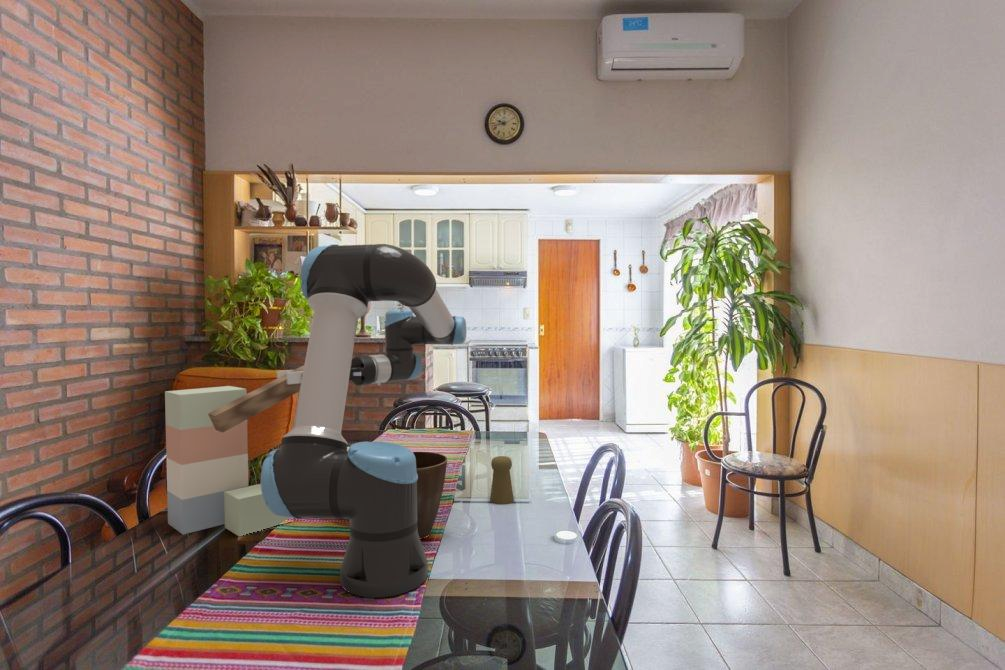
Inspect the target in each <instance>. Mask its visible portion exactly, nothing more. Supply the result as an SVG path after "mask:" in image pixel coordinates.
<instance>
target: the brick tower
mask: <svg viewBox="0 0 1005 670" xmlns="http://www.w3.org/2000/svg"><path fill="white" fill-rule="evenodd" d="M247 392H248V391H247V388H243V387H239V386H238V387H237V386H234V385H233V386H232V385H225V386H213V387H200V388H187V389H177V390H168V391H167V390H166V391H164V402H165V406H164V408H165V449H166V451H165V452H166V453H165V455H166V491H167V492H166V493H167V495H166V496H167V498H166V499H167V524H168V525H169V526H170V527H172V528H173V529H175V530H176V531H177V532H179V533H180V534H182V535H187V534H190V533H195V532H198V531H203V530H206V529H210V528H215V527H218V526H222V525H225V511H224V492H225V491H230V490H234V489H239V488H244V487H248V486H249V482H248V468H249V449H248V447H249V445H248V436H249V435H248V419H247V420H245V421H243V422H242V423H240V424H238V425H236V426H234V427H232V428H230V429H229V430H227V431H225V432H220V431H217V430H216V429H215V427H214V425H213V423H212V421H211V419H210V417H209V415H208V413H210V412H212V411H214V410H216V409H218V408H220V407H222V406H224V405H226V404H228V403H230V402H232V401H234V400H236V399H238V398H240V397H242V396H244V395H246V394H248V393H247Z"/></svg>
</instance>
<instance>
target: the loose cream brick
mask: <svg viewBox="0 0 1005 670" xmlns="http://www.w3.org/2000/svg"><path fill="white" fill-rule="evenodd" d="M224 511H225V524H224V528H225V529H227V530H228V531H229V532H230V533H231V532H232V533H233V534H234V535H235V536H238V537H240V536H241V537H243V535H244V536H247V535H246V534H248V535H250V534H249V533H252V534H254V533H253V532H255V533H258V532H257V531H259V532H262V531H264V530H263V529H266V528H270V527H273V526H276V525H278V524H280V523H282V522H283V521H285V520H288V519H291V518H293V517H284V516H278V515H275V514H274V513H272V512H271V511H270V510H269V509H268V507H267V506H266V504H265V501H264V499H263V496H262V491H261V483H257V484H253V485H248V487H244V488H239V489H234V490H230V491H225V492H224ZM273 528H274V527H273ZM270 529H271V528H270ZM261 530H262V531H261ZM266 530H267V529H266Z"/></svg>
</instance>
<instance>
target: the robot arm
mask: <svg viewBox="0 0 1005 670" xmlns="http://www.w3.org/2000/svg"><path fill="white" fill-rule="evenodd" d="M299 279H300V281H301V283H300V289H301V293H302V295H303V297H304V298H305V299H306V300H307V304H308V306H309V308H310V310H312V311H313V315H312V321H311V326H310V327H311V328H310V333H309V338H308V344H307V348H306V353H305V354H306V355H305V361H304V364H303V365H304V370H303V371H298V372H291V371H293V370H294V369H286V370H277V371H276V379H278V378H280V377H282V376H284V375H286V380H287V384H298V383H301V386H300V391H299V392H298V399H297V404H296V410H295V415H294V421H293V424H292V425H293V427H292V429H291V430H290V431H288V432H287V433H286V434H284V435H283V436H282V437H281V442H280V447H279V448H276V449H274V450H271V451H269V453H267V455H266V458H265V459H264V461H263V463H262V466H261V472H260V484H261V491H262V496H263V499H264V501H265V504H266V506H267V507H268V509H269V510H270V511H271V512H272V513H274V514H275V515H278V516H284V517H293V518H294V519H297V520H298V519H299V520H300V519H330V520H331V519H332V520H333V519H334V520H338V519H340V520H349V540H348V543H347V546H346V549H345V553H344V556H343V559H342V563H341V565H340V570H339V578H340V579H339V581H340V582H341V584H340V586H341V585H342V586H343V587H344V588H345V589H346V590H347V591H349V592H350V593H353V594H355V595H354V596H356V595H358V596H357V597H361V596H362V598H371V599H372V598H373V599H374V598H375V599H376V598H378V599H379V598H388V597H394V596H399V595H402V594H405V593H408V592H411V591H413V590H416V589H417V588H419V587H420V586H422V585H423V584H424V582H426V580H428V576H429V562H428V558H427V555H426V552H425V548H424V546H423V543H422V539H421V540H420V537H419V534H418V530H417V480H418V474H417V470H416V458H415V455H414V453H413V452H414V451H412V449H410V448H407V447H406V446H404V445H401V444H397V443H394V442H389V441H387V442H386V441H379V440H378V441H377V440H373V441H359V442H355V443H352V444H351V445H350V446H349V448H348V445H349V443H348V442H347V440H346V439H345V438H344V437H343V434H342V428H343V423H344V415H345V407H346V402H347V395H348V389H349V381H352V383H353V384H354V385H356V386H367V385H372V384H373V385H375V384H376V386H381V384H382V383H383V384H384V383H393V382H403V381H404V382H407V381H410V380H415V379H417V378H419V377H420V376H421V374H422V372H423V367H424V366H423V365H424V364H423V362H422V358H421V356H420V355H419V354H418V353H416V352H414V345H451V346H453V345H462V344H464V343H465V342H466V338H467V321H466V319H465V317H464V316H457V315H452V313H451V312H450V311H449V309H448V307H447V305H446V303H445V302H444V300H443V298H442V297H441V295H440V293H439V291H438V290H437V280H436V277H435V275H434V273H433V272H432V270H431V269H430V268H429V266H427V264H426V263H425V262H424V261H422V259H420V258H419V257H418V256H416V255H414V254H413V253H411V252H409V251H408V250H405V249H404V248H401V247H398V246H395V245H392V244H386V243H375V244H372V243H371V244H345V245H339V244H328V245H321V246H317V247H314V248H313V249H311V250H310V251H309V252H308V253H306V256H305V257H304V259H303V262H302V264H301V268H300V276H299ZM384 301H385V302H387V301H389V302H398V303H399V304H401V305H402V306H405V307H408V308H409V309H392V310H391V309H390V310H387V311H386V312H385V316H384V317H385V318H384V321H385V322H384V334H385V335H384V340H385V342H384V343H385V346H384V347H385V354H370V355H357V356H355V357H353V355H354V349H355V341H356V335H357V327H358V323H359V322H358V321H359V320H358V319H360V318H362V317H363V316H364V315H365V316H366V314H367V312H368V306H369V302H384ZM340 582H339V583H340ZM350 593H349V594H350ZM353 594H352V595H353Z"/></svg>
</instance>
